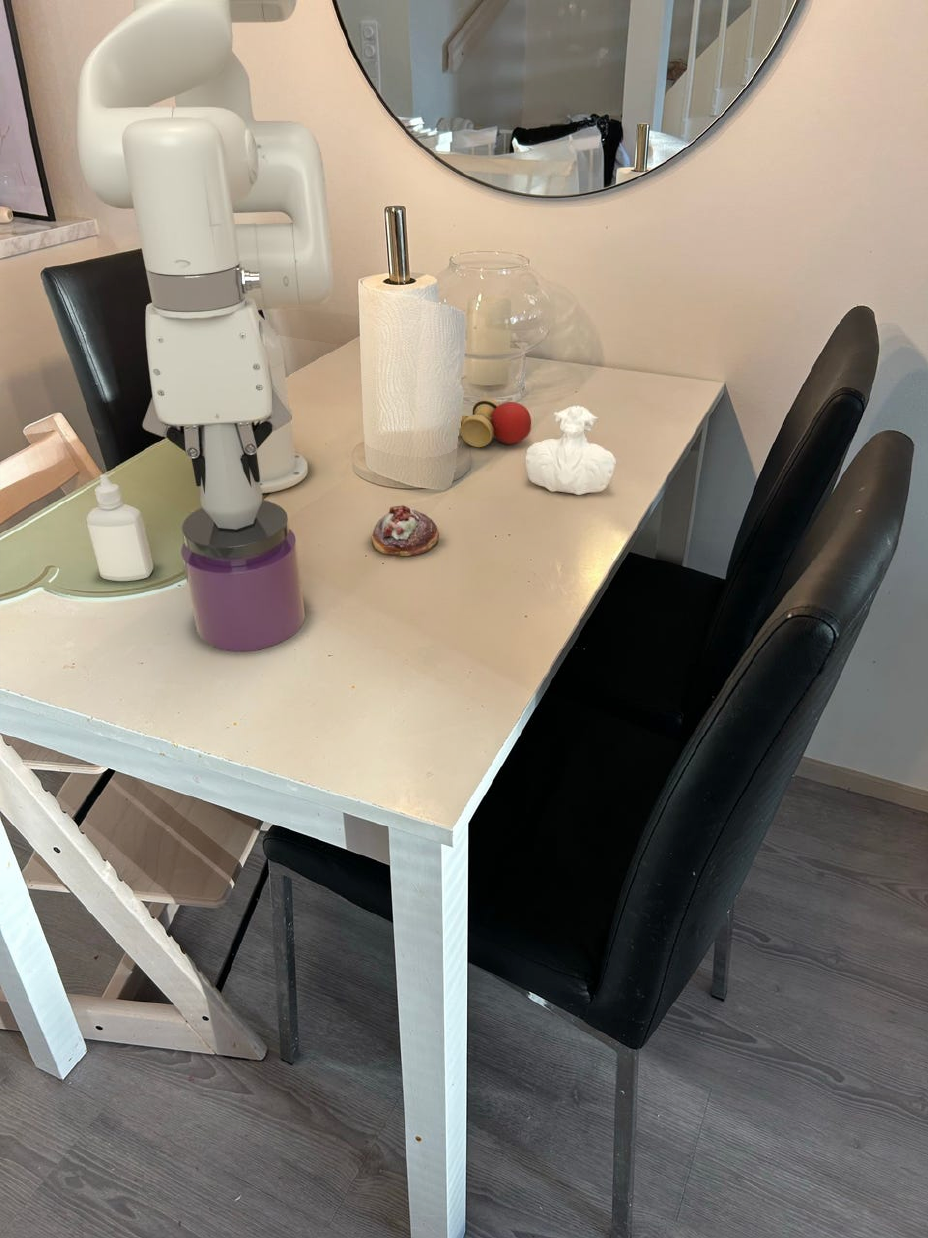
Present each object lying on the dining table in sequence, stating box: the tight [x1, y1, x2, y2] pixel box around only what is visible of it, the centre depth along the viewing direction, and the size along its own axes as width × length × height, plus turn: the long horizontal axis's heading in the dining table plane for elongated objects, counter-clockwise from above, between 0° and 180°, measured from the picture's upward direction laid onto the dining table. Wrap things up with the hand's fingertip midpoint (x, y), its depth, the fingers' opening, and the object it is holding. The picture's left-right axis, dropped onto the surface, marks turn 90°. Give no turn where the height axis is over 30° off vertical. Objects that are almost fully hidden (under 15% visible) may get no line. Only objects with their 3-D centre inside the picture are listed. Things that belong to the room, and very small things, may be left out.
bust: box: [524, 404, 617, 496], centre depth 117 cm, size 12×8×11 cm
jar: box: [180, 499, 306, 652], centre depth 89 cm, size 11×11×12 cm
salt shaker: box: [199, 414, 263, 529], centre depth 83 cm, size 6×6×13 cm
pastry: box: [371, 504, 440, 557], centre depth 105 cm, size 8×8×5 cm
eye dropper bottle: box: [85, 474, 154, 582], centre depth 97 cm, size 4×6×12 cm
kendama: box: [459, 397, 532, 448], centre depth 131 cm, size 8×6×18 cm
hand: (229, 488), depth 84 cm, fingers closed on salt shaker, 3 cm apart
